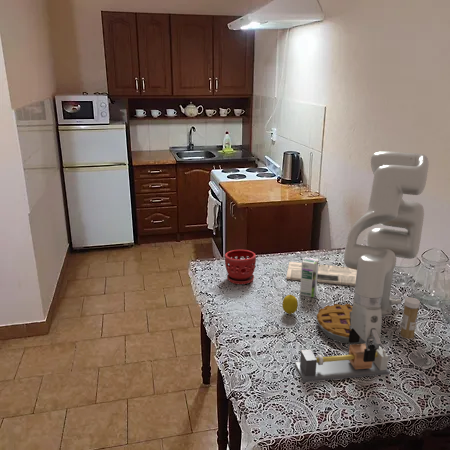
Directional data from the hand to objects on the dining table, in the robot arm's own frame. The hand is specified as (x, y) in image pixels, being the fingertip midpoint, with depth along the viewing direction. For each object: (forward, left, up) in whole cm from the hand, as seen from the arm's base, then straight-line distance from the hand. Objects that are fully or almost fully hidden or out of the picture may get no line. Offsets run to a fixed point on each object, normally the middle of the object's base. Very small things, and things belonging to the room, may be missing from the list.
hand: (361, 351), depth 125 cm
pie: (-6, -21, -7) cm, 23 cm away
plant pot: (+24, -64, -6) cm, 69 cm away
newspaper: (-16, -64, -7) cm, 67 cm away
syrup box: (-1, -48, -6) cm, 49 cm away
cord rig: (+5, 0, -6) cm, 8 cm away
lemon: (+11, -33, -6) cm, 36 cm away
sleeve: (0, 0, -5) cm, 5 cm away
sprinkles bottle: (-24, -14, -6) cm, 29 cm away
